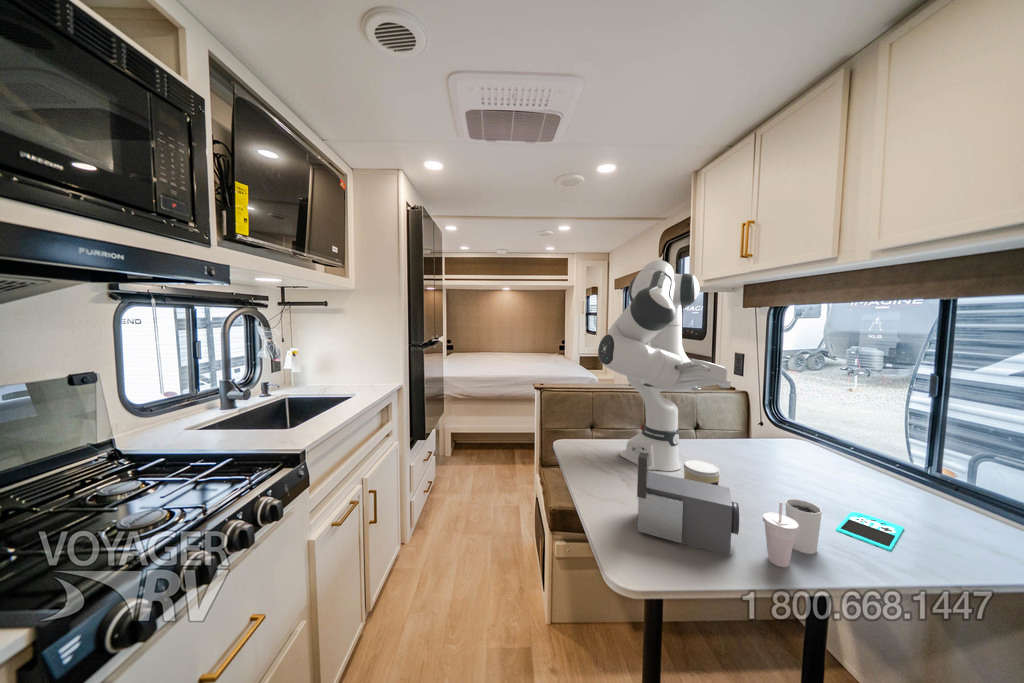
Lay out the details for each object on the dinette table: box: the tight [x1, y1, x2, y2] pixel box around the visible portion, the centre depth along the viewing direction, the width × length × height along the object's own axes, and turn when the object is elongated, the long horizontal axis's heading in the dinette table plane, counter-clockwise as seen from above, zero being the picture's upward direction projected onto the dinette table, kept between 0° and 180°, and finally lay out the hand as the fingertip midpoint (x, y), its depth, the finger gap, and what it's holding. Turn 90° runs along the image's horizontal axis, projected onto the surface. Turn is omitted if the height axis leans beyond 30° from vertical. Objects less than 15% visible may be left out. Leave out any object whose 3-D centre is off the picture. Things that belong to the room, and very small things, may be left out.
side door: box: [636, 452, 683, 544], centre depth 84 cm, size 10×4×20 cm, turn 62°
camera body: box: [648, 471, 740, 558], centre depth 88 cm, size 22×10×12 cm, turn 61°
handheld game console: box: [835, 511, 905, 552], centre depth 90 cm, size 10×16×1 cm, turn 124°
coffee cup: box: [683, 459, 721, 486], centre depth 101 cm, size 9×9×12 cm
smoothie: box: [762, 501, 799, 568], centre depth 78 cm, size 6×6×14 cm
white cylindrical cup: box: [785, 498, 823, 555], centre depth 83 cm, size 7×7×10 cm
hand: (712, 386), depth 85 cm, fingers open, 8 cm apart
